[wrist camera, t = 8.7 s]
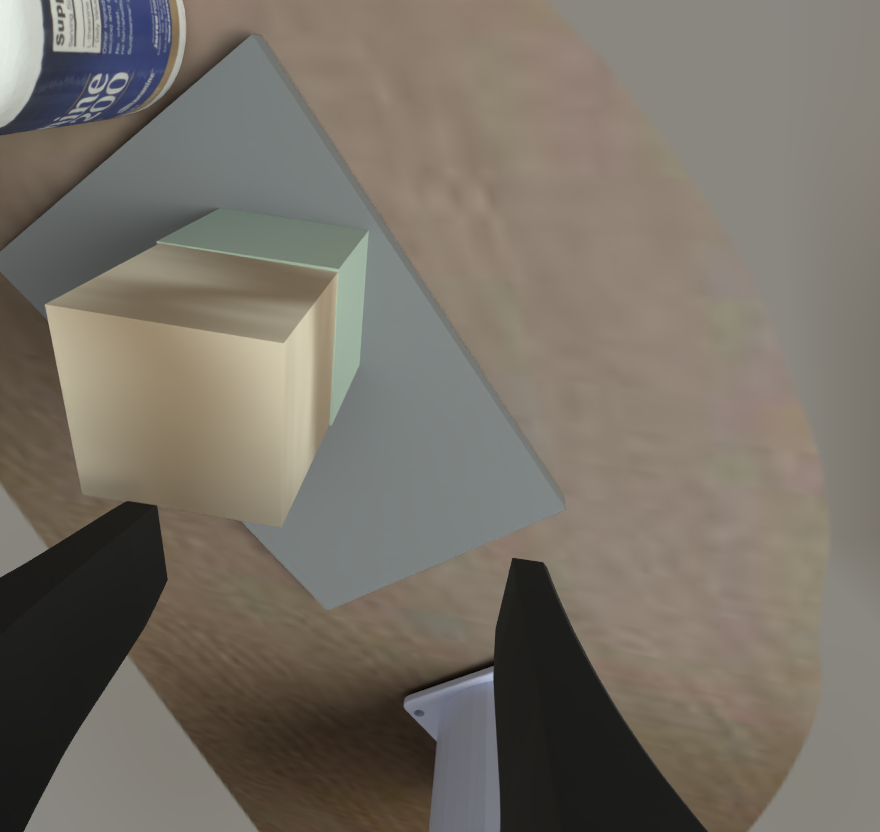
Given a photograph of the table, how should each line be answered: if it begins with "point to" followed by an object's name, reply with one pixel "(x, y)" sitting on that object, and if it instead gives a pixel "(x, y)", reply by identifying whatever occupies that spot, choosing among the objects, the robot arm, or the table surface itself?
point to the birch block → (197, 380)
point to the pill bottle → (85, 59)
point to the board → (382, 341)
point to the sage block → (300, 248)
